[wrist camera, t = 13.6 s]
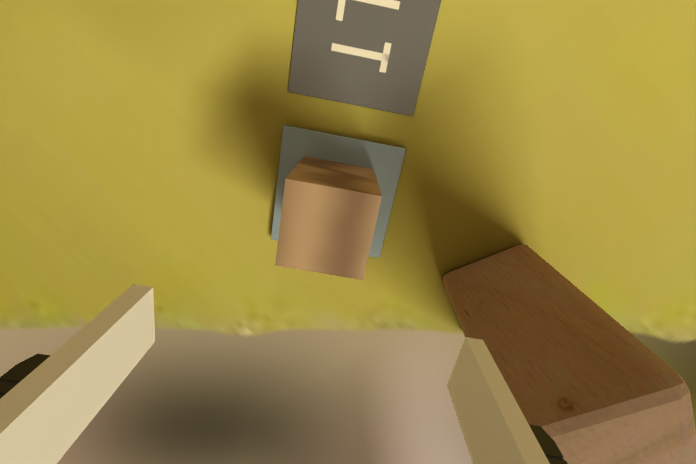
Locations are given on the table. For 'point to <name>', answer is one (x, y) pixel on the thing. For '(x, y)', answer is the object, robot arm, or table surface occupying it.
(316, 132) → the pad
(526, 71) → the table surface
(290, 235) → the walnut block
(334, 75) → the plate
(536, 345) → the wooden block
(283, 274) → the table surface
